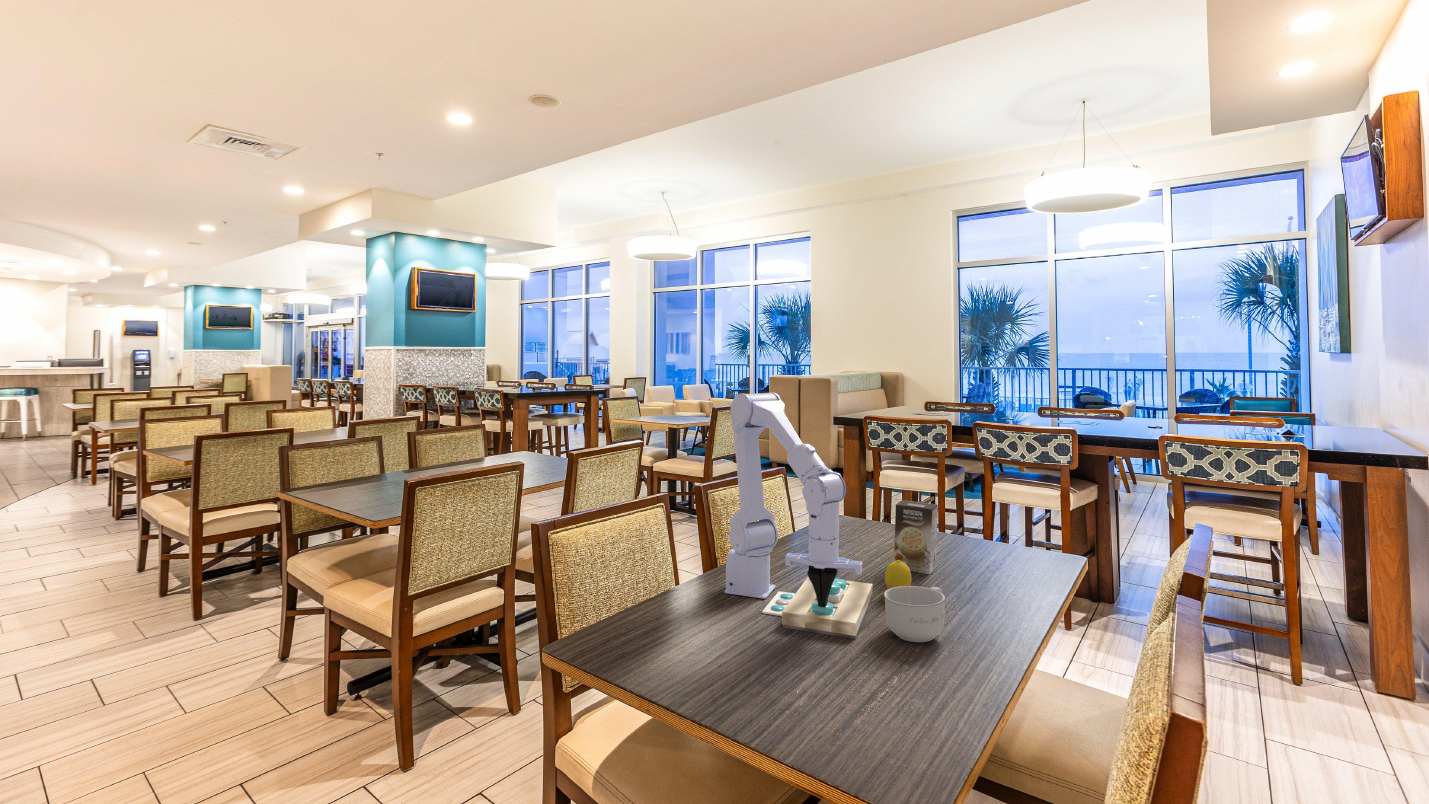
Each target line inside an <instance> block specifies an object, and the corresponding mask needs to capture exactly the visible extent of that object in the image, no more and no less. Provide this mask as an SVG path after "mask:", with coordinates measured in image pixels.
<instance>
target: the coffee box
mask: <svg viewBox="0 0 1429 804" xmlns="http://www.w3.org/2000/svg"><path fill="white" fill-rule="evenodd" d="M938 509H939V505H938V504H936V503H935V504H934V503H929V502H923V501H913V500H907V499H901V500H899V501H898V502H897V503H896V504H895V516H894V517H895V518H894V520H895V521H894V543H893V544H894V550H893V552H894V553H893V562H894V561H897V560H900V561H901V562H903V563H905V564H906V565H907V566H908V567H909V569H910V572H914V573H920V574H925V575H931V573H933V572H934V570H935V569H936V568H937V567H936V566H937V565H936V563H937V559H936V558H937V542H938V541H937V539H938V538H937V537H938V535H937V533H938V513H939V511H938Z"/></svg>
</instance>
